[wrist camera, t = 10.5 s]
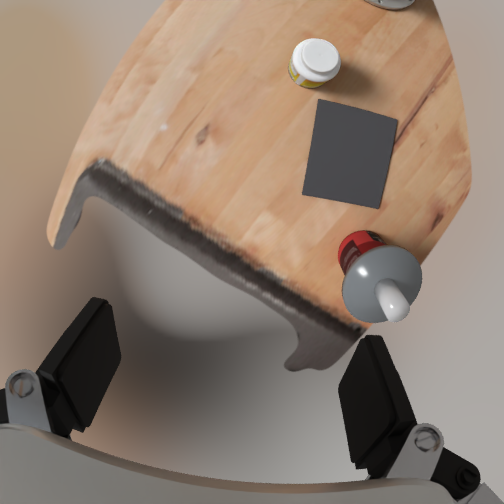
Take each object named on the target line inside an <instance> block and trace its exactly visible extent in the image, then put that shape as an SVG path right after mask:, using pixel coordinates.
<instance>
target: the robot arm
mask: <svg viewBox="0 0 504 504" xmlns="http://www.w3.org/2000/svg"><path fill="white" fill-rule="evenodd" d="M365 1H367V2H369V3H370V4H372V5H375V6H378V7H380V8H385V9H392V10H396V9H402V8H406V7H407V6H409V5H411V4H412V3H413V2H414V1H415V0H365ZM120 361H121V352H120V347H119V342H118V337H117V332H116V327H115V321H114V316H113V310H112V306H111V305H110V304H108V301H107V300H105V299H101V298H96V297H92V298H91V299H90V301H89V302H88V303H87V304H86V306H85V307H84V308H83V309H82V311H81V312H80V313H79V314H78V316H77V317H76V318H75V320H74V321H73V322H72V323H71V325H70V326H69V327H68V328H67V330H66V331H65V332H64V333H63V335H62V336H61V337H60V339H59V340H58V341H57V343H56V344H55V346H54V347H53V348H52V350H51V351H50V352H49V354H48V355H47V357H46V358H45V360H44V361H43V363H42V364H41V365H40V367H39V368H38V370H37V371H36V373H34V372H33V371H31V370H27V369H23V370H18V371H15V372H14V373H12V374H11V375H10V376H9V377H8V379H7V381H6V384H5V388H4V389H1V390H0V504H504V503H503V502H502V501H501V500H500V499H499V498H498V496H497V495H496V494H495V493H494V492H493V491H492V490H491V489H490V488H489V487H488V486H487V485H486V484H485V483H482V484H480V480H481V479H480V473H479V470H478V469H477V467H476V466H475V465H473V464H472V463H470V462H469V461H467V460H465V459H463V458H461V457H460V456H458V455H456V454H454V453H453V452H451V451H449V450H448V449H446V448H444V447H443V445H444V440H443V436H442V434H441V432H440V431H439V429H438V428H436V427H435V426H433V425H431V424H428V423H422V424H417V421H416V418H415V415H414V413H413V410H412V407H411V405H410V402H409V399H408V397H407V394H406V391H405V389H404V386H403V384H402V381H401V379H400V376H399V374H398V372H397V370H396V368H395V366H394V364H393V361H392V359H391V356H390V354H389V352H388V349H387V347H386V344H385V342H384V340H383V338H382V337H381V336H379V335H366V336H365V338H362V339H361V340H360V341H359V344H358V346H357V348H356V350H355V352H354V355H353V357H352V359H351V361H350V363H349V365H348V367H347V369H346V372H345V373H344V375H343V377H342V380H341V382H340V384H339V388H338V393H339V398H340V403H341V408H342V413H343V419H344V424H345V430H346V435H347V441H348V446H349V452H350V458H351V462H352V463H355V466H356V469H366V468H367V470H368V474H369V475H368V476H367V478H366V479H365V480H362V481H351V482H339V483H319V484H271V483H253V482H241V481H231V480H222V479H215V478H208V477H201V476H195V475H189V474H184V473H179V472H174V471H169V470H165V469H160V468H156V467H152V466H148V465H144V464H140V463H137V462H133V461H130V460H126V459H123V458H120V457H116V456H113V455H110V454H107V453H104V452H101V451H98V450H95V449H93V448H90V447H87V446H84V445H82V444H79V443H76V442H73V441H72V440H71V437H70V433H71V431H72V429H75V430H77V431H80V432H82V433H83V432H84V430H85V428H86V427H89V426H90V425H91V423H92V420H93V418H94V416H95V414H96V412H97V410H98V407H99V405H100V403H101V401H102V399H103V397H104V395H105V392H106V390H107V388H108V386H109V384H110V382H111V380H112V378H113V376H114V374H115V372H116V370H117V368H118V366H119V364H120Z"/></svg>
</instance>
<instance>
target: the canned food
mask: <svg viewBox="0 0 504 504" xmlns="http://www.w3.org/2000/svg"><path fill="white" fill-rule="evenodd" d="M383 245H386V243H385V242H384V241H383V240H382V239H381V238H380V237H379V236H378V235H377V234H375V233H373V232H370V231H364V230H363V231H357V232H354V233H352V234H350V235H348V236H347V237H346V238H345V239H344V240H343V242H342V243H341V245H340V247H339V251H338V261H339V264H340V266H341V268H342V270H343V273H344V275H345V274H346V272H347V271H348V269H349V267H350V266H351V265H352V263H353V262H354V261H355V260H356V259H357V258H358V257H359V256H361V255H362V254H364V253H365V252H367V251H369V250H370V249H373V248H375V247H379V246H383Z"/></svg>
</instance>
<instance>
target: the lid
mask: <svg viewBox="0 0 504 504" xmlns="http://www.w3.org/2000/svg"><path fill="white" fill-rule="evenodd" d="M421 284H422V271H421V267H420V264H419V262H418V261H417V259H416V258H415V257H414V256H413V255H412V254H411V253H410V252H409V251H408V250H406V249H405V248H402V247H400V246H396V245H383V246H379V247H375V248H373V249H370V250H369V251H367V252H365V253H364V254H362V255H361V256H359V257H358V258H357V259H356V260H355V261H354V262H353V263H352V265H351V266H350V267H349V269H348V271H347V272H346V274H345V277H344V280H343V284H342V296H343V300H344V303H345V306H346V308H347V310H348V311H349V312H350V314H351V315H353V316H354V317H355V318H357V319H358V320H361V321H364V322H369V323H378V322H384V321H388V320H389V321H391V322H398V321H401V320H402V319H404V318H405V317H406V316H407V315H408V313H409V311H410V305H411V304H412V303H413V301H414V300H415V299H416V297H417V295H418V293H419V291H420V288H421Z"/></svg>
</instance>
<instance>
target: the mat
mask: <svg viewBox="0 0 504 504" xmlns="http://www.w3.org/2000/svg"><path fill="white" fill-rule="evenodd" d="M396 125H397V120H396V119H393V118H390V117H387V116H384V115H380V114H377V113H373V112H370V111H366V110H363V109H359V108H355V107H351V106H347V105H343V104H339V103H335V102H330V101H326V100H321V99H318V104H317V110H316V117H315V123H314V129H313V135H312V141H311V147H310V152H309V158H308V164H307V169H306V175H305V180H304V186H303V191H302V195H307V196H313V197H318V198H324V199H329V200H335V201H340V202H346V203H351V204H356V205H361V206H366V207H371V208H376V209H378V208H379V204H380V200H381V196H382V192H383V188H384V184H385V180H386V175H387V171H388V166H389V161H390V157H391V152H392V147H393V142H394V136H395V131H396Z"/></svg>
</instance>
